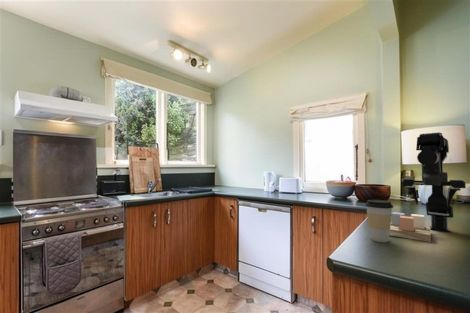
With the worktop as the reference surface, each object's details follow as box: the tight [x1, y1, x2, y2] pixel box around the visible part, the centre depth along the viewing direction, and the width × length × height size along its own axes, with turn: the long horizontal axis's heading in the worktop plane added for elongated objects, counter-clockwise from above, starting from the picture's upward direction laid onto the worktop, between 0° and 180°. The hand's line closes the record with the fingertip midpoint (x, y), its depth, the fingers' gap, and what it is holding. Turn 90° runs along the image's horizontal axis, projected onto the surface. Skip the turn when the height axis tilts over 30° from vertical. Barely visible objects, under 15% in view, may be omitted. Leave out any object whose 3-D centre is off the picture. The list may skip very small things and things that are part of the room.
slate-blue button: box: [391, 211, 406, 226], centre depth 108 cm, size 4×4×5 cm
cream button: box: [410, 213, 426, 229], centre depth 103 cm, size 4×4×5 cm
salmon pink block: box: [400, 215, 414, 231], centre depth 99 cm, size 4×4×5 cm
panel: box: [389, 221, 432, 243], centre depth 102 cm, size 16×15×2 cm
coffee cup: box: [364, 199, 394, 243], centre depth 93 cm, size 9×9×15 cm
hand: (432, 205), depth 93 cm, fingers open, 9 cm apart
